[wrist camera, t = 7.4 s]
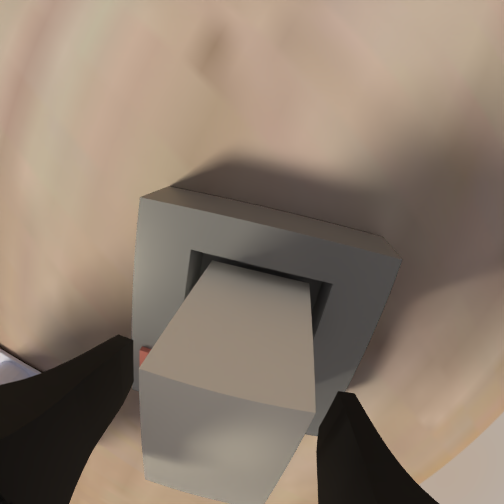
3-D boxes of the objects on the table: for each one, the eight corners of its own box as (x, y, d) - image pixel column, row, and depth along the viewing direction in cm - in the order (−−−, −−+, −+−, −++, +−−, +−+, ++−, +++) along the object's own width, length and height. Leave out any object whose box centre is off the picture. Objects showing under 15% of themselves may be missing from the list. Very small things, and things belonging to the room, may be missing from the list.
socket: (383, 236, 14) (404, 262, 11) (319, 398, 17) (320, 440, 14) (168, 186, 14) (136, 198, 11) (152, 357, 18) (130, 392, 15)
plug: (308, 271, 14) (316, 412, 6) (278, 368, 16) (261, 509, 8) (218, 250, 14) (138, 368, 7) (202, 349, 16) (144, 479, 8)
